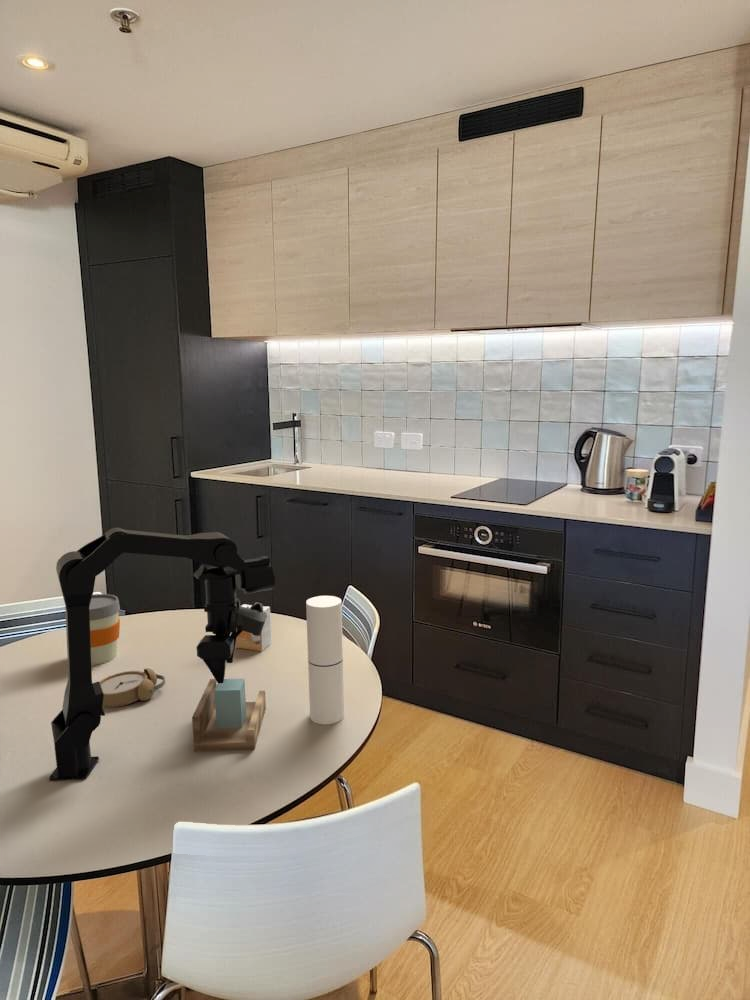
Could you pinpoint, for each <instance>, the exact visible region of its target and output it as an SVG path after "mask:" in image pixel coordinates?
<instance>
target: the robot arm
mask: <svg viewBox="0 0 750 1000" xmlns="http://www.w3.org/2000/svg"><path fill="white" fill-rule="evenodd" d="M124 553H125V554H136V555H147V556H148V555H150V556H161V557H171V558H172V557H173V558H186V559H189V560H193V561H195V562H199V563H201V565H200V567H199V568H198V569H197V570H195V572H194V573H193V577H195V578H196V580H198V581H203V580H204V584H205V599H206V600H205V601H206V602H205V605H204V607H203V608H204V609H203V611H204V613H206V614H207V616H206V618H207V624H206V625H205V633H212V634H207V635H206V634H205V635H204V636H203V637H202V638H201V639H200V640H199V642H198V643H197V646H196V656H197V657H198V658H200V659H201V660H203V662H204V663H205V665H206V666H207V668H208V669H209V671H210V673H211V674H212V676H213V679H216V684H218V683H223V682H224V679H225V678H226V667H227V664H232V663H234V662H233V661H234V656H235V651H236V648H235V646H236V641H237V636H238V635H239V634H240V633H241V632H242V631H246V632H249V633H252V634H253V635H255V636H260V635H261V632H262V629H263V626H264V623H265V620H266V618H267V614H266V612H264V611H263V606H264V605H263V603H260V602H257V601H255V602H253V604H251V605H252V606H251V607H250V608H249V607H248V606H247V608H245V607H242V605H241V600H240V598H238V597H237V590H236V589H238V590H239V591H240V590H241V591H242V593H243V594H245V595H246V594H253V593H259V592H263V591H265V592H266V591H270V590H273V589H275V586H276V576H275V573H274V569H273V567H272V565H271V558H270V557H268V556H267V555H262V556H259V557H256V558H250V559H249V558H248V559H244V558H242V557H241V556H240V555H239V554H238V547H237V544H236V543H235V542H234V541H233V540H232V539H231V538H230V537H228V536H226V535H224V534H223V533H221V532H217V531H214V532H213V531H211V532H200V533H195V534H189V535H183V534H182V535H181V534H172V533H162V532H161V533H160V532H152V531H141V530H131V529H123V528H121V527H112V528H110V529H108V531H106V532H105V533H104V534H102V535H101V536H99V537H97V538H95V539H93V540H91V541H90V542H88V543H85V545H83V546H82V547H80V548H79V549H77V550H76V551H69V552H68V551H67V552H66V553H64V554H63V555H62V556H60V558H59V559H58V560H57V562H56V565H55V566H56V568H55V569H56V575H57V578H58V583H59V587H60V591H61V593H62V598H63V601H64V606H65V610H64V611H65V627H66V628H65V629H66V651H67V654H66V655H67V656H66V657H67V671H68V673H67V677H68V679H67V682H66V687H65V690H64V695H63V702H62V707H61V708H62V709H61V711H59V712H58V713H57V715H56V716H55V717H54V718H53V720H52V721H51V722H50V726H51V731H52V737H53V745H54V754H55V763H56V765H55V766H56V767H55V769H54V770H53V771H52V772H51V774H50V775H49V777H48V779H49V781H69V780H70V781H73V780H75V781H76V780H86V779H87V778H88V777H89V776H90V774H91V772H92V771H93V769H94V768H95V766H96V765H97V763H98V762H99V760H100V757H99V756H97V755H96V756H92V754H91V753H92V752H91V742H90V741H91V737H92V734H93V732H94V731H95V730H96V729H97V728H99V726H100V724H101V720H102V717H104V716H106V714H105V710H104V707H103V706H102V705H103V698H104V693H103V691H102V688H101V685H100V681H95V682H93V675H92V674H93V673H92V671H93V670H92V665H91V643H90V616H89V607H90V602H91V599H92V595H94V590H95V583H96V578H97V576H98V575H100V574H101V573H102V572H104V571H105V570H106V569H107V568H108V567H109V566H110V565H111V564H112V563H113V562H114V561H116V559H117V558H118V557H120V556H121V555H122V554H124ZM204 564H205V565H204ZM206 565H207V566H208V565H210V566H212V567H206ZM227 567H229V568H227ZM263 612H264V613H263Z"/></svg>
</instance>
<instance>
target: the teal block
mask: <svg viewBox="0 0 750 1000" xmlns="http://www.w3.org/2000/svg"><path fill="white" fill-rule="evenodd" d="M245 682H246V681H245V678H224V682H223V683H216V685H217V686H216V688H215V691H214V692H215V708H216V724H217V728H242V727H243V724H244V721H245V718H246V702H247V701H246V700H247V699H246V684H245Z"/></svg>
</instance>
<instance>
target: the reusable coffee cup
mask: <svg viewBox="0 0 750 1000" xmlns="http://www.w3.org/2000/svg"><path fill="white" fill-rule="evenodd" d="M120 610H121V606H120V600H119V598H118V596H117V595H114V594H106V593H105V594H104V593H101V594H100V593H99V594H98V593H97V594H93V595H92V599H91V602H90V607H89V616H90V643H91V666H96V665H102V664H105V662H106V663H109V662H111V661H113V660H114V659H115V658H116V657H117V655H116V654H117V653H118V652H117V651H118V639H119V638H120V627H121V626H120V625H121V619H120V617H119V613H120ZM114 657H115V658H114ZM113 658H114V659H113ZM112 659H113V660H112ZM110 660H111V661H110ZM108 661H109V662H108ZM101 663H102V664H101Z"/></svg>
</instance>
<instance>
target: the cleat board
mask: <svg viewBox="0 0 750 1000" xmlns="http://www.w3.org/2000/svg"><path fill="white" fill-rule="evenodd" d="M216 686H217V681H216V679H215V678H210V679H209V681H208V683H207V685H206V687H205V689H204V692H203V693H202V695H201V698H200V700H199V702H198V704H197V706H196V708H195V710H194V712H193V713H192V714H193V715H192V716H191V723H192V734H193V751H194V752H213V751H215V752H217V751H247V750H251V751H252V750H255V749H256V747H257V742H258V740H259V735H260V732H261V727H262V724H263V720H264V716H265V714H266V712H265V711H266V709H267V706H266V705H267V703H266V702H267V701H266V690H259V691H258V694H257V697H256V701H246V718H245V721H244V724H243V727H242V728H217V724H216V708H215V692H214V691H215V688H216Z"/></svg>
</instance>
